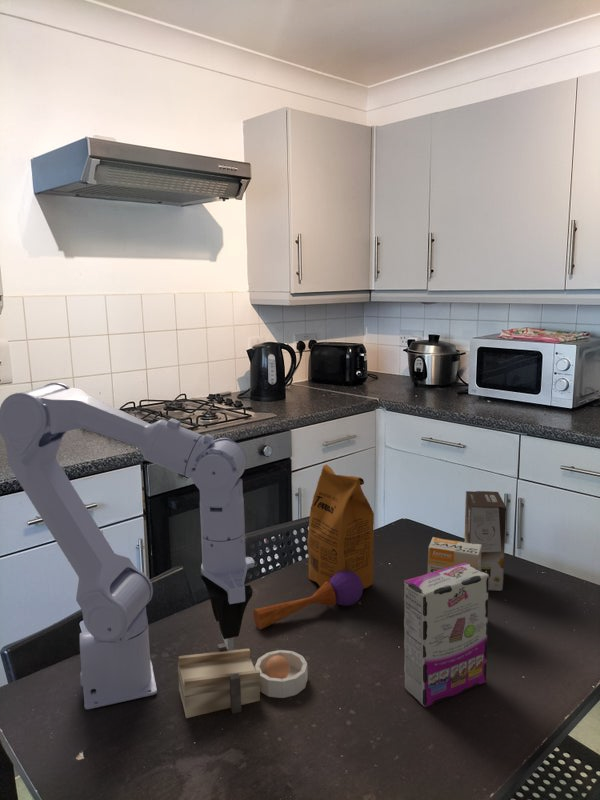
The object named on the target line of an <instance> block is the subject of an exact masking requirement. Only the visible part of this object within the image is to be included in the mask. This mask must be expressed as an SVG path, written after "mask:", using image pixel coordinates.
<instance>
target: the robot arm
mask: <svg viewBox="0 0 600 800" xmlns="http://www.w3.org/2000/svg"><path fill="white" fill-rule="evenodd" d="M79 429H84V430H86V431H89V432H93V433H96V434H98V435H102V436H104V437H107V438H110V439H113V440H116V441H119V442H122V443H125V444H127V445H130V446H133V447H136V448H139V450H140V452H141V455H142V457H143V459H144V460H145V461H147V462H149V463H152V464H155V465H156V466H160V467H162V468H164V469H167V470H169V471H172V472H174V473H176V474H179V475H182V476H184V477H187V478H189V479H191V480H192V482H193V483H194V485H195V486H196V487H197V489H198V490H199V513H200V515H199V516H200V535H201V538H200V539H201V556H202V557H201V558H202V563H201V566H200V569H199V571H198V572H199V573H198V574H199V576H200V578H201V580H202V581H203V583H204V585H205V587H206V589H207V590H206V592H207V595H208V598H209V600H210V604H211V605H210V606H211V609H212V612H213V617H214V619H215V621H216V622H218V624H219V630H220V632H221V633H220V634H221V637H222V636H223V637H222V639H223V638H224V639H228V638H233V639H234V638H237V637H239V635H240V633H241V628H242V623H243V619H244V613H245V610H246V608H247V605H248V603H249V601H250V600H251V598H252V596H253V591H254V590H253V587H252V586H251V585H250V584H247V585H245V581H246V576H247V571H248V569H252V568H254V567H255V563H256V562H255V560H254V558H253V557H251V556H247V555H246V554H247V553H246V527H245V523H246V522H245V499H244V493H243V492H244V491H243V490H244V489H243V488H244V487H243V479H242V478H241V477H242V475H243V474H244V472H245V470H246V467H247V462H248V461H247V455H246V452H245V450H244V448H242V446H241V445H240V444H239V443H237V442H236V441H235V440H233V439H231V438H230V437H221V438H217V439H215V436H214V435H212V434H209V433H207V434H205V435H203V434H200V433H198V432H196V431H193V430H192V429H191V430H190V429H188V428H186V427H183V426H181V421H180V420H177V419H176V418H170V419H169V420H167V419H158V420H157V421H155V422H153V423H149V422H147V421H144V420H143V419H140V418H139V417H136V416H133V415H132V414H129V413H127V412H126V411H123V410H121V409H119V408H117V407H115V406H113V405H110V404H108V403H105V402H104V401H101V400H100V399H97V398H95V397H93V396H90V395H89V394H88V393H86V392H85V391H84V390H82V389H80V388H77V387H70V386H69V385H67V384H65V383H62V382H50V383H47V384H46V385H44V386H41V387H37V388H34V389H31V390H26V391H24V392H16V393H15V392H14V393H13V394H10V395H8V396H7V397H5V398H4V400H3V401H2V403H1V405H0V436H1V437H2V439H3V441H4V445H5V446H4V447H5V451H6V455H7V463H8V465H9V468H10V470H11V472H12V473H13V475H14V477H15V478H16V480H17V481H18V483H19V484H20V486H21V488H22V489H23V491H24V493H25V494H26V496H27V498H28V499H29V500H30V502H31V504H32V505H33V507H34V508H35V510H36V512H37V514H38V515H39V517H40V518H41V519H42V521H43V523H44V524H45V526H46V528H47V530H49V532H50V534H51V535H52V537H53V539H54V540H55V542H56V544H57V545H58V546H59V548H60V550H61V551H62V552H63V555H64V556H65V558H66V559H67V561H68V562H69V564H70V565H71V568H72V569H73V570H74V571H75V573H76V576H77V577H78V583H77V589H76V596H75V601H76V602H77V605H78V606H79V607H80V610H81V613H82V621H83V624H84V626H85V629H86V631H83V632H80V633H79V652H80V653H79V655H80V667H81V668H80V669H81V671H80V673H79V674H80V676H79V677H80V678H79V679H80V686H81V687H82V690H83V700H84V704H83V706H84V709H85V710H92V709H95V708H101V707H105V706H109V705H115V704H118V703H123V702H127V701H132V700H136V699H141V698H146V697H149V696H154V695H156V694H157V693H158V690H157V689H158V688H157V683H156V678H155V673H154V666H153V663H152V662H153V661H152V660H151V653H150V637H149V623H148V621H149V620H148V615H147V607H146V606H148V604H149V602H150V601H151V600H152V598H153V594H154V587H153V584H152V581H151V579H150V578H149V577H148V576H147V574H145V573H144V572H143V571H142V570H140V569H138V568H137V567H136V566H135V565H134V563H133V562H132V560H131V559H130V558H129V557H126V556H123V555H120V554H117V553H115V552H114V550H113V548H112V547H111V545H110V543H109V542H108V540H107V539H106V537H105V536H104V534H103V531H102V530H101V529H100V527H99V525H97V523H96V521H95V520H94V518H93V516H92V514H91V513H90V512H89V511H90V510H88V508H87V507H86V505H85V503H84V502H83V500H82V499H81V497H80V495H79V494H78V492H77V490H76V488H75V487H74V485H73V484H72V483H71V481H70V479H69V478H68V476H67V474H66V473H65V471H64V469H63V468H62V466H61V465H60V463H59V462H58V459H57V454H58V452H59V449H60V446H61V442H62V439H63V437H64V436H65V435H66V433H67V432H70V431H74V430H79Z"/></svg>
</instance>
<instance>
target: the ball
mask: <svg viewBox="0 0 600 800" xmlns="http://www.w3.org/2000/svg"><path fill="white" fill-rule="evenodd" d="M289 670H290V667H289V663H288V661H287V660H286V659H285V658H284V657H282V656H279V655H278V656H273V657H271V658H270V659H269V660H268V662H267V664H266V674H267V676H269V677H270V678H279V679H283V678H286V677H287V676H288V674H289Z"/></svg>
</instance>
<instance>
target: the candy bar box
mask: <svg viewBox="0 0 600 800" xmlns="http://www.w3.org/2000/svg"><path fill="white" fill-rule="evenodd" d="M427 573H428V572H427ZM427 573H425V574H422V575H420V576H416V577H412V578H409V579H405V580H403V628H404V630H403V632H404V633H403V637H404V638H403V646H404V647H403V648H404V649H403V650H404V651H403V653H404V654H403V657H404V658H403V661H404V663H403V667H404V668H403V671H404V674H403V678H404V679H403V680H404V681H403V682H404V683H403V686H404V687H403V688H404V689H405V691H406V692H407V693H408V694H409V695H411V697H413V698H414V699H415V700H416V701H417V702H418V703H420V705H422V706H423V707H424V708H427V707H428V708H429V707H430V706H432V705H435V704H438V703H440V702H443V701H444V700H447V699H449V698H451V697H455V696H456V695H459V694H461V693H463V692H467V691H469V690H471V689H472V688H475V687H478V686H480V685H482V684H485V683H487V666H488V665H487V660H488V659H487V658H488V657H487V655H488V651H487V650H488V624H489V623H488V617H489V611H488V609H489V590H488V580H489V578H488V577H489V575H488V574H486V573H484V572H483V571H480V570H479V569H477V568H475V567H472V565H470V564H468V563H462V564H459V565H455V566H452V567H449V568H445V569H442V570H439V571H435V572H432V573H428V574H427Z"/></svg>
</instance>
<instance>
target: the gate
mask: <svg viewBox="0 0 600 800" xmlns="http://www.w3.org/2000/svg"><path fill="white" fill-rule="evenodd" d="M221 637H222V640H223V643H225V645H226V647H227V650H228V651H231V650H235V645H234V644H235V641H234V637H233V638H228V639H224V638H223V636H222V635H221Z"/></svg>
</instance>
